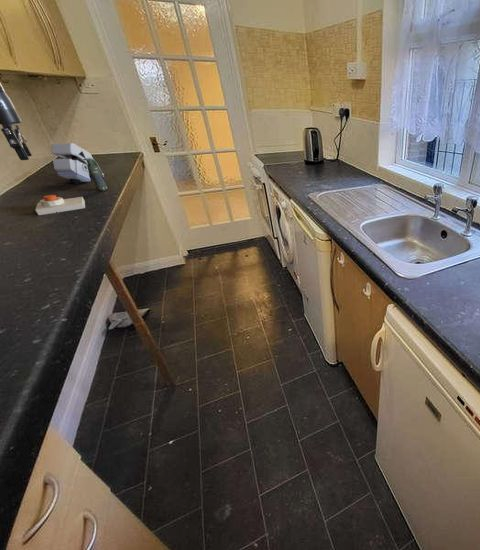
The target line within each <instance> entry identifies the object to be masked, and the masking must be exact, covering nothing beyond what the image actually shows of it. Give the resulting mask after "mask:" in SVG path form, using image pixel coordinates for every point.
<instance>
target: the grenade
mask: <svg viewBox="0 0 480 550" xmlns="http://www.w3.org/2000/svg"><path fill="white" fill-rule="evenodd" d="M83 160H86V161H87V163H88V165H87V167H88V171H89V175H91V176H92V177H91V178H92V180H93V183H94V185H95V188H96V190H97V191H100V192H103V191H107V189H108V186H107V184H106V182H105V181H104V178H105V176H104V177H103V175H102V173H103V172H102V169H101V168H100V164H99V163H98V162H97V161H96V160H95V159H94V158H93V157H92V158H85V159H83Z"/></svg>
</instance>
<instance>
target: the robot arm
mask: <svg viewBox="0 0 480 550" xmlns="http://www.w3.org/2000/svg"><path fill="white" fill-rule="evenodd" d="M22 120H23V119H21V117H20V114H19V113H18V111H17V108H16V107H15V105H14V103H13V102H12V100H11V98H10V96H9V95H8V93H7V92H6V90H5V88H4V86H3V84H2V82H1V81H0V126H2V128H0V130H1V132H2V133H3V136H4V137H5V139H6V141H7V143H8V144H9V147H10V148H11V149H13V150H14V151H15V153H16V155H17V156H18V159H19V160H20V161H29V159H30V157H32V154H33V153H31V150H30V149H29V147H28V143H27V142H28V141H27V140H26V138H25V136H24V135H23V133H22V130H21V129H20V127H19V125H17V124H22V123H23V121H22Z"/></svg>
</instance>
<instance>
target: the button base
mask: <svg viewBox="0 0 480 550" xmlns="http://www.w3.org/2000/svg"><path fill="white" fill-rule="evenodd" d="M56 197H57V200H53V201H45V199H44V198H43V199H40V200H39V202H37V204H36V207H35V212H36V214H37V216H43V215H50V214H57V213H62V212H69V211H75V210H76V211H77V210H81V209H86V201H85V199H84V197H83V196H78V197H70V198H63V197H62V196H56ZM56 212H57V213H56Z"/></svg>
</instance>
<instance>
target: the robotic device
mask: <svg viewBox="0 0 480 550" xmlns="http://www.w3.org/2000/svg"><path fill="white" fill-rule="evenodd" d="M50 145H51V146H50V149H51V150H50V151H51V154H52V155H54V156H57V157H59V158H53V159H52V163H53V168H54V170H55V171H56V174H57V176H59V177H61V178H63V179H65V180H68V181H69V182H70V183H72V184H74V185H80V183H88V182H92V180H91V178H92V176H91V174H90V173H89V171H88V167H87V165H88V163H87V161H86V160H83V159H85V158H93V156H92V154H91V153H90V152H89V151H88V150H86V149H84V148H82V147H80V146H79V145H77V144H75V143H73V142H54V143H52V144H50ZM102 175H103V177H104V178H105V173H103V172H102Z"/></svg>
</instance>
